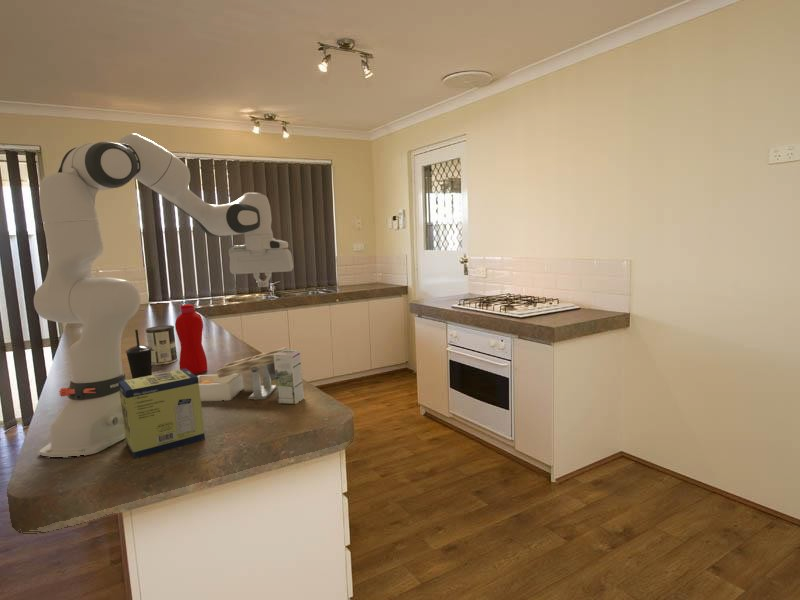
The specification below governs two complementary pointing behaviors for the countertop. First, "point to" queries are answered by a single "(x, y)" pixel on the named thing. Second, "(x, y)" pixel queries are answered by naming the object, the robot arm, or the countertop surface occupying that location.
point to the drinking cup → (139, 359)
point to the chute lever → (251, 364)
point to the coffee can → (162, 344)
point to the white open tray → (220, 387)
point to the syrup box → (288, 376)
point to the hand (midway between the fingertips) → (263, 286)
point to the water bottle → (191, 340)
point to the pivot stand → (259, 390)
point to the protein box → (161, 411)
